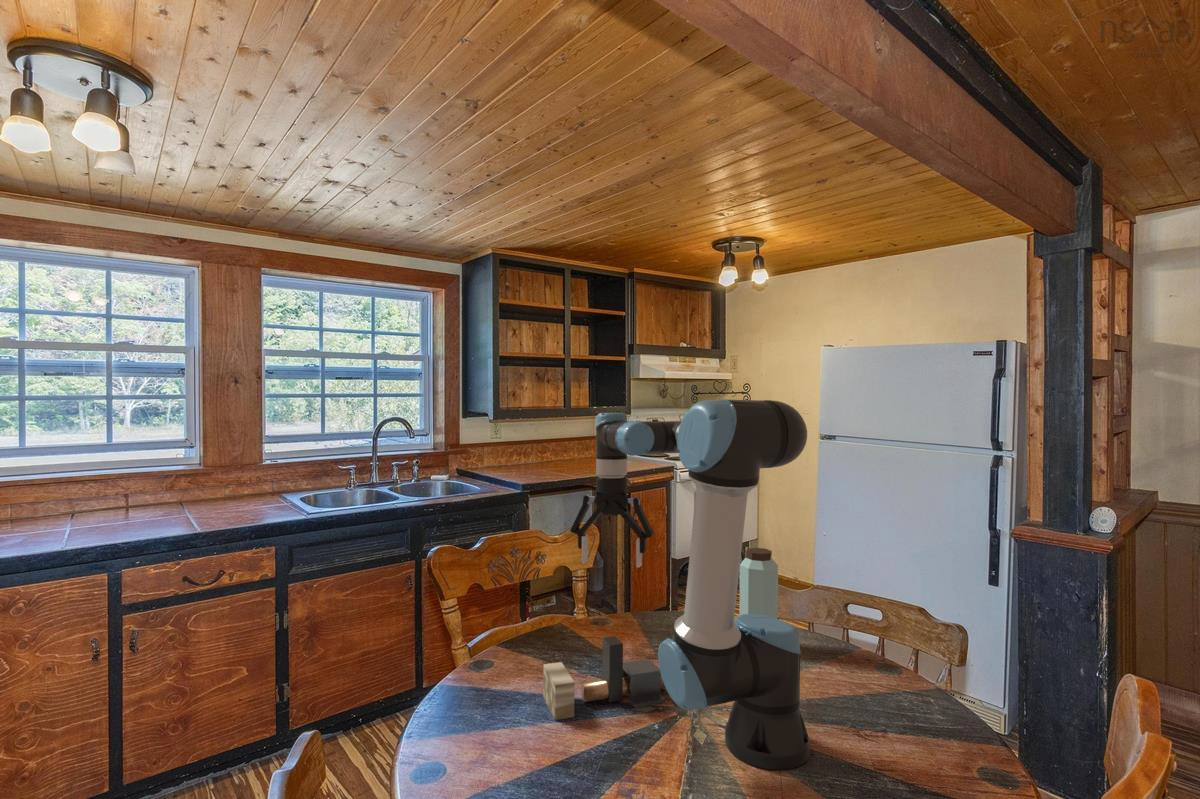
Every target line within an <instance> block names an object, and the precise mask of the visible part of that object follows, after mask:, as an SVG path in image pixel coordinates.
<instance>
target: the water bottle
mask: <svg viewBox="0 0 1200 799" xmlns="http://www.w3.org/2000/svg"><path fill="white" fill-rule="evenodd" d="M772 552H773V550H771V549H769V548H768V549H767V548H763V547H749V548H747V549H746V551H745V557H744V558H743V560H742V561H741V562H740V569H739V615H743V614H756V615H763V616H768V617H772V618H776V619H779V617H778V616H779V565H778V563H777V562H776V561H775V560H773V558H772V555H773V554H772Z"/></svg>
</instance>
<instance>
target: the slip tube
mask: <svg viewBox="0 0 1200 799" xmlns="http://www.w3.org/2000/svg"><path fill="white" fill-rule="evenodd" d="M601 652H602V657H601V658H602V659H601V660H602V662H601V663H602V667H601V668H602V669H601V670H602V671H601V672H602V674H601V680H595V681H589V682H583V683H581V685H580V694H581V698H582V701H583V702H584V703H585V702H593V701H599V700H604V699H605V700H607V701H608V702H609V703H610V704H611V703H616V702H622V701H623V696H630V677H629V676H627V677H623V663H624V643H623V642H622V641H621V640H620V639H619V638H618V636H616V635H612V636H604V637H602V651H601ZM661 690H667V689H666V687H665V685H664V682H663V679H662V676H661Z"/></svg>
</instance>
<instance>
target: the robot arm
mask: <svg viewBox="0 0 1200 799" xmlns="http://www.w3.org/2000/svg"><path fill="white" fill-rule="evenodd" d="M595 424H596V425H595V440H596V441H595V445H596V446H595V447H596V448H595V449H596V453H595V455H596V456H595V458H596V460H595V462H596V463H595V472H596V473H595V474H596V475H597V477H596V478H595V481H596V482H595V490H596V491H595V492H596V493H595V496H593V495H591V494H586V495H584V496H583V498H582V505H581V507H580V510H579V512H578V513H577V515H576V518H575V520H574V522H573V524H572V526H571V528H570V532H571V533H572V534H576V535H577V547H578V549H579V550H580V549H581V564H586V563H588V562H589V534H587V533H586V532H588V530H589V529H590V527H592V525H594V523H595V522H596V520H598V518H599V517H600V515H602V514H603V515H604V516H610V515H612V516H620V517H621V518H623V519H624V521H625V522H626V523H627V525H629V527H630V529H632V531H633V532H634V533H635V535H636V536H637V539H636V540H635V542H636V543H635V548H636V549H635V551H636V552H635V554H636V555H635V560H636V561H635V565H636V566H635V568H637V569H639V568H640V567H642V566H643V561H642V560H643V554H645V553H646V550H647V539H648V538H649V539H650V538H651V537H652V536H654V530H653V528H652V525H651V524H650V522H649V520H648V518H647V515H646V514H645V511H644V509H643V507H642V503H641V498H640V496H635V497H630V498H629V496H628V477H627V474H628V456H629V457H633V456H635V457H636V456H643V455H653V454H654V455H655V454H656V455H658V454H659V455H660V454H678V457H679V460H680V462H681V464H682V466H683V467H685V469H687V470H688V478H689V479H690V480H691V482H692V483H693V484H694V485H695V496H694V498H695V499H694V508H693V517H692V518H693V520H692V529H691V539H690V548H689V549H690V550H689V559H688V560H689V561H688V568H687V571H688V572H687V581H686V590H685V602H684V611H683V612H684V613H683V614H682V615H680V616H679V617H677V619H676V620H675V621H674V625H673V636H672V638H669V637H668V638H666V639H665V640H662V642H661V643H660V644H659V647H658V651H657V657H658V658H657V661H658V668H659V669H660V672H661V676H662V679H663V682H664V685H665V687H666V689H665V690H666V692H667V693H668V694H669V697H670V698H671V700H672V701H673V702H674V703H675V704H676V705H677V706H678V707H679V708H681V709H683V710H686V711H690V710H691V711H693V710H698V709H701V710H705V709H707V708H709V707H712V706H713V707H714V706H716V705H717V706H718V705H723V704H726V703H730V702H733V703H732V706H731V709H730V714H729V716H728V719H727V722H726V724H725V728H724V743H725V745H726V748H727V749H728V751H729V752H730V753H731V754H732V755H733V756H734V757H735V758H737V759H739V760H740V761H742V762H743V763H746V764H749V765H752V766H754V767H758V768H761V769H766V770H774V771H775V770H776V771H782V770H783V771H784V770H791V769H795V768H797V767H800V766H802V765H803V764H805V763H806V762H807V761H808V760H809V758H810V755H811V754H810V751H811V750H810V748H811V747H810V737H809V733H808V731H807V728H806V725H805V721H804V719H803V718H804V717H803V715H802V711H801V709H800V706H801V705H800V704H801V703H800V702H801V699H800V694H801V693H800V692H801V691H800V690H801V688H800V687H801V686H800V685H801V684H800V683H801V654H802V651H801V646H800V643H801V642H800V634H799V632H798V631H797V629H796V628H795V627H794V626H793V625H791V624H790V623H788V622H786V621H784V620H781V619H779V618H778V619H776V618H772V617H768V616H763V615H756V614H743V615H740V614H739V615H737V616H736V617H735V614H736V605H737V595H738V594H737V593H738V586H739V579H740V564H741V558H742V548H743V542H744V541H743V538H744V530H745V519H746V512H747V503H748V495H749V492H751V491H752V490H753V489H755V488H756V487H757V486H758V485H759V480H760V470H761V469H769V468H770V469H771V468H778V467H783V466H786V465H788V464H790V463H792V462H794V461H795V460H796V459H797V458H798V457H799V456H800V455H801V454H802V452H803V451H804V449H805V447H806V445H807V439H808V429H807V428H808V427H807V424H806V422H805V419H804V418H803V416H802V415H801V414H800V413H799V411H798V410H797V409H796V408H795V407H793V406H791V405H789V404H787V403H785V402H782V401H778V400H773V399H772V400H771V399H770V400H769V399H768V400H767V399H765V400H759V399H758V400H757V399H756V400H755V399H753V400H752V399H723V398H722V399H721V398H718V399H711V400H709V399H708V400H702V401H698V402H696V403H694V404H693V405H692V406H691V407H690V408H689V409H688V410H687V411H686V413H685V414H684V415H683V417H682V419H681V420H671V421H670V420H669V421H667V420H666V421H663V420H662V421H658V420H657V421H655V420H654V421H652V420H651V421H650V420H649V421H647V420H646V421H644V420H641V421H638V420H637V421H636V420H635V421H634V420H631V421H630V420H628V416H627V414H626V413H624V412H599V413H598V414H597V415H596V422H595ZM593 503H595V505H596V506H597V508H596V509H595V510H594V512H593V513H592V514H591V516H589V518H588V519H587V520H586V521H585V523H584V524H583V525H582V523H583V520H584V518H585V516H586V514H587V513H588V510H589V508H590V506H591V505H592V504H593ZM628 504H630V506H631V507H632V508H633V509H634V511H635V514H636V516H637V518H638V520H639V522H640V524H641V526H642V527H641V526H640V525H639V523H638V522H637V521H636V520H635V518H634V517H633V515H631V513H630V510H628V508H627V506H628ZM581 525H582V527H581Z"/></svg>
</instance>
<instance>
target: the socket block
mask: <svg viewBox="0 0 1200 799" xmlns="http://www.w3.org/2000/svg"><path fill="white" fill-rule="evenodd" d="M542 685H543V694H542V695H543V700H544V702H545V703H546V705H547V707H548V708H549V709H548V710H549V711H550V713H551V715H552V717H553V719H554V720H555V721H559V720H565V719H570V718H575V688H576V686H575V681H574V679H573V677H572V676H571V675H570V673H569V671H568V670H567V668H566V667H565V665H564V664H563V662H562V661H560V662H558V661H557V662H552V663H545V664H543V684H542Z"/></svg>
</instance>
